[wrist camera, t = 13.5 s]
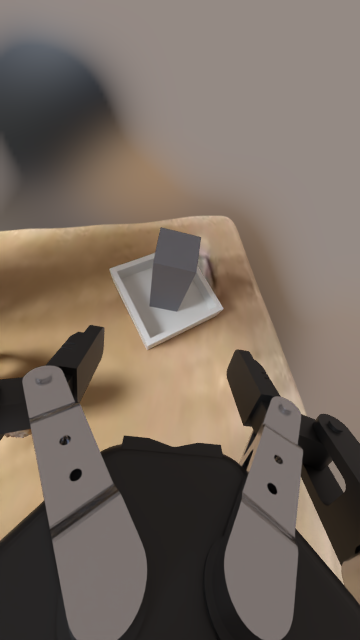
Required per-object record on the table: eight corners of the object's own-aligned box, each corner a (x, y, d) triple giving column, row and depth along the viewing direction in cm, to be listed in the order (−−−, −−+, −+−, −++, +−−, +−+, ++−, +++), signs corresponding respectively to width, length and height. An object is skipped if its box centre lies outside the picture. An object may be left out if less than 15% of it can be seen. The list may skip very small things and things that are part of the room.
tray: (147, 350, 30) (147, 346, 27) (112, 280, 32) (109, 268, 29) (215, 316, 34) (223, 308, 30) (180, 255, 36) (184, 242, 33)
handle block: (149, 306, 31) (153, 262, 20) (154, 281, 32) (160, 227, 21) (177, 311, 31) (196, 272, 20) (180, 286, 33) (201, 237, 22)
